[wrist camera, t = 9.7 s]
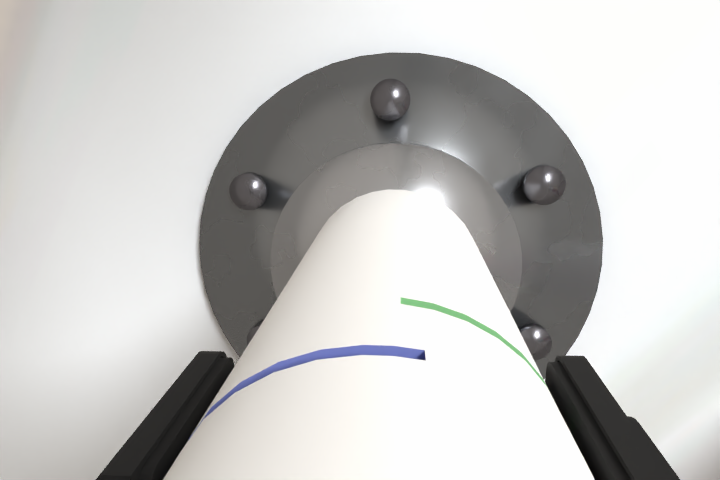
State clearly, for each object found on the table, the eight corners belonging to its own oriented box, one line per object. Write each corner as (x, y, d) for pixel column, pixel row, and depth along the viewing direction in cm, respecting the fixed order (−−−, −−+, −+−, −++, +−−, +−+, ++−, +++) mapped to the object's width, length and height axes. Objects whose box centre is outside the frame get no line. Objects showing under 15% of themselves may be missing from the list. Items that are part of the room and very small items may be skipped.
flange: (179, 64, 20) (166, 62, 19) (620, 42, 18) (634, 39, 17) (227, 422, 25) (219, 437, 24) (577, 431, 23) (586, 448, 22)
